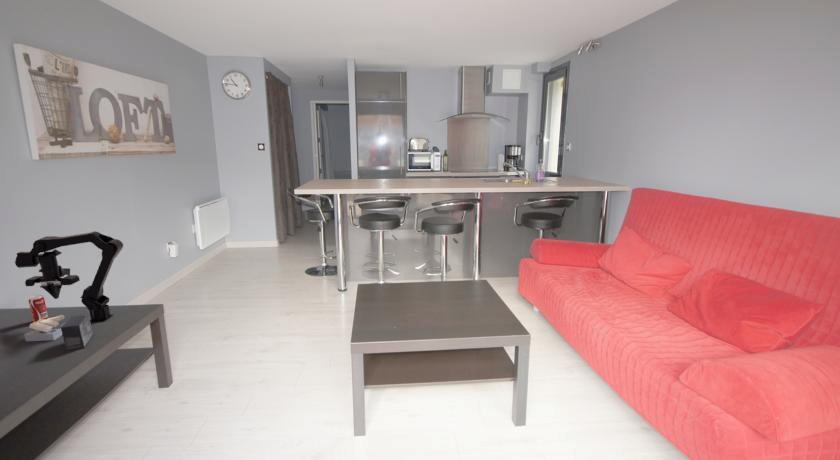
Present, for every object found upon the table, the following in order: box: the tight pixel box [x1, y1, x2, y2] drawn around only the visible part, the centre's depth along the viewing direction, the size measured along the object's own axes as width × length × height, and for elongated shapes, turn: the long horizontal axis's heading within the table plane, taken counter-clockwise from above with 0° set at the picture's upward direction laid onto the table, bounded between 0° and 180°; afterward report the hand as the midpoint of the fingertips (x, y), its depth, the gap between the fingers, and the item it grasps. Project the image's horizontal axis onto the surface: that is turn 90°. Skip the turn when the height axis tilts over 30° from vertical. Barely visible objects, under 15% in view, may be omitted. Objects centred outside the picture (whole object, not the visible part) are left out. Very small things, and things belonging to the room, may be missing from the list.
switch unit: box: [23, 321, 67, 342], centre depth 175 cm, size 11×11×4 cm
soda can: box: [28, 294, 50, 323], centre depth 186 cm, size 5×5×12 cm
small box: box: [61, 313, 95, 351], centre depth 167 cm, size 11×6×10 cm, turn 21°
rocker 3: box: [46, 314, 66, 322], centre depth 177 cm, size 7×2×2 cm, turn 95°
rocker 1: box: [29, 322, 53, 333], centre depth 171 cm, size 7×2×2 cm, turn 96°
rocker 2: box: [37, 319, 60, 328], centre depth 174 cm, size 7×2×2 cm, turn 96°
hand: (56, 298), depth 183 cm, fingers closed
